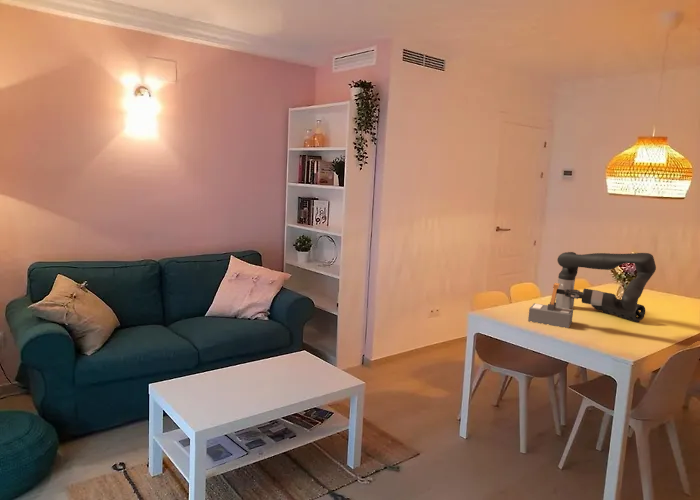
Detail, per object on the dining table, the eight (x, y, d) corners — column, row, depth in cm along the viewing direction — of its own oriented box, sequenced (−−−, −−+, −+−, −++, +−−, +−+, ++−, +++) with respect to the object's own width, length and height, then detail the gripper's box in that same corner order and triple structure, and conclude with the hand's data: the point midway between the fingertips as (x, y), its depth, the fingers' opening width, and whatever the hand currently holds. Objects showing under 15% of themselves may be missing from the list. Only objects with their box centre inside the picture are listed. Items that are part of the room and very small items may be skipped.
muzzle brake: (633, 323, 281) (635, 305, 279) (588, 310, 305) (590, 293, 304) (644, 322, 285) (646, 303, 284) (599, 309, 310) (601, 292, 308)
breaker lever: (548, 308, 273) (553, 284, 271) (549, 306, 278) (555, 282, 275) (553, 309, 272) (558, 285, 269) (554, 307, 276) (559, 283, 274)
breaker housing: (528, 321, 275) (529, 302, 273) (533, 315, 287) (534, 298, 285) (568, 328, 265) (570, 309, 264) (571, 322, 277) (573, 304, 276)
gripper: (590, 306, 259) (553, 300, 267) (592, 301, 270) (557, 295, 279) (592, 292, 258) (555, 286, 266) (594, 287, 269) (559, 282, 277)
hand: (556, 291), depth 272 cm, fingers closed
